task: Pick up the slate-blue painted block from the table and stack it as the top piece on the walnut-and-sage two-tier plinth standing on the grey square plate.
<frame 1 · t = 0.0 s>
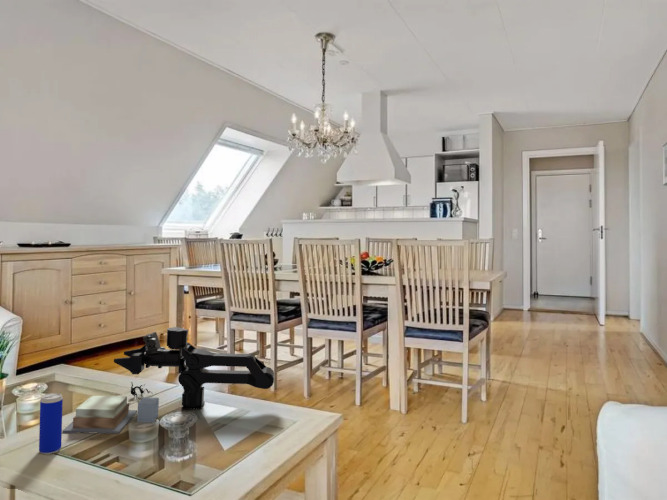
hand: (119, 356, 159), 17 cm above the table, tool horizontal, fingers open, 9 cm apart
grey square plate: (101, 421, 146), on the table
creature: (141, 397, 168), on the table
top block: (147, 418, 150), on the table
beverage can: (50, 451, 127), on the table
plinth: (102, 411, 146), on the grey square plate, point 3 cm above the table
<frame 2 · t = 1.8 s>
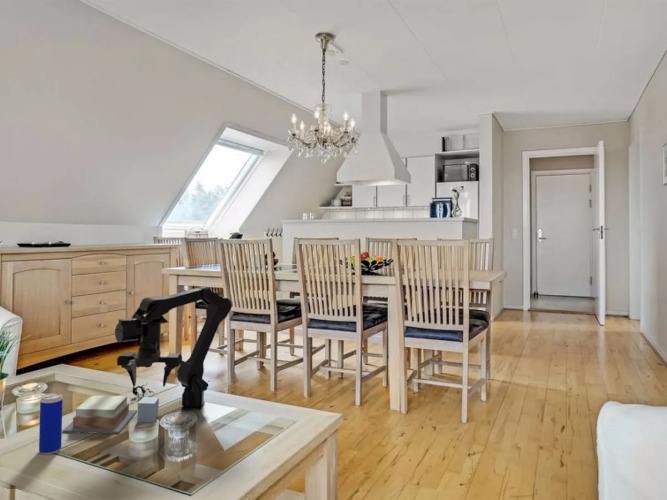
hand: (149, 385, 150), 11 cm above the table, tool pointing down, fingers open, 9 cm apart
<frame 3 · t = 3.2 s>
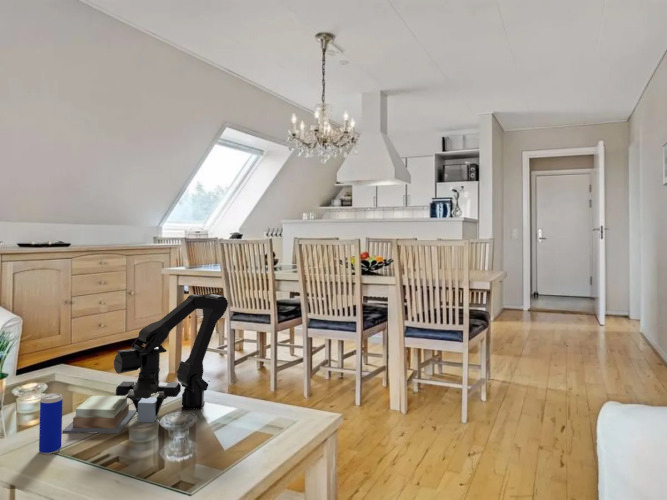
hand: (148, 415, 150), 1 cm above the table, tool pointing down, fingers closed on top block, 5 cm apart
top block: (147, 418, 150), on the table, touching gripper
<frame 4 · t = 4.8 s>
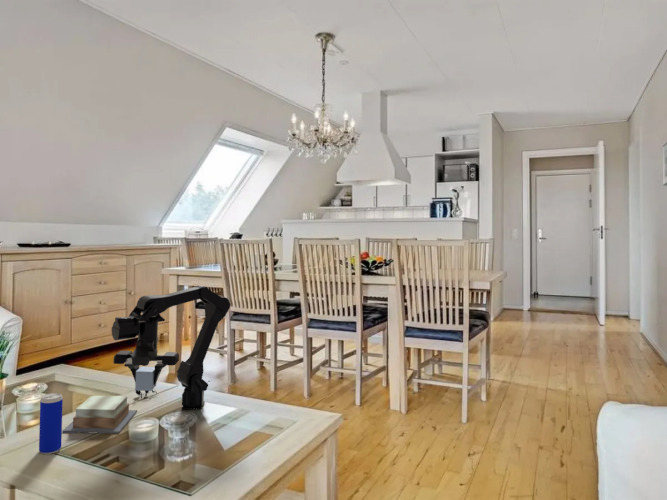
hand: (145, 384, 149), 11 cm above the table, tool pointing down, fingers closed on top block, 5 cm apart
top block: (145, 387, 149), point 10 cm above the table, touching gripper
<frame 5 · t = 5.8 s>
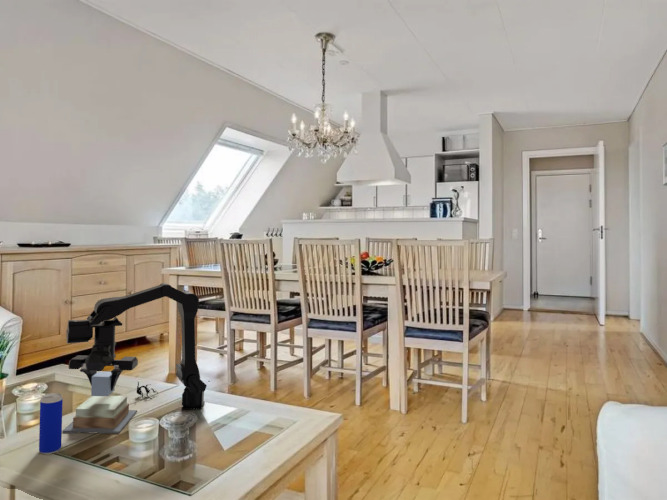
hand: (103, 390, 146), 10 cm above the table, tool pointing down, fingers closed on top block, 5 cm apart
top block: (103, 393, 146), point 9 cm above the table, touching gripper
when the fingers open (9 cm above the table, at t = 6.4 s): top block drops 1 cm, resting on plinth.
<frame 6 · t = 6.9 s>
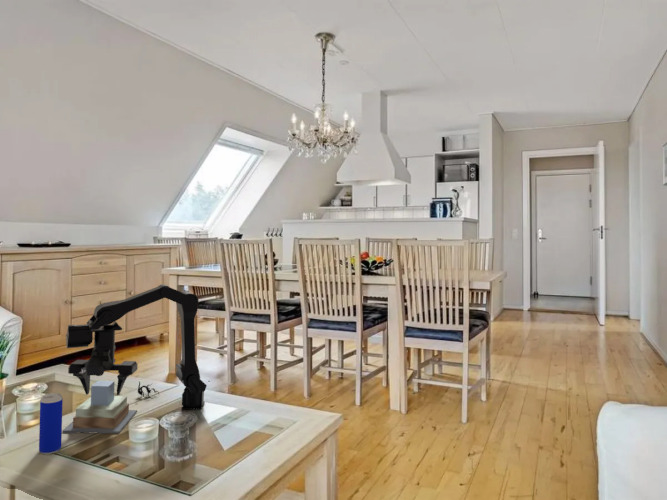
hand: (102, 394, 146), 9 cm above the table, tool pointing down, fingers open, 9 cm apart
top block: (102, 402, 146), point 6 cm above the table, touching plinth
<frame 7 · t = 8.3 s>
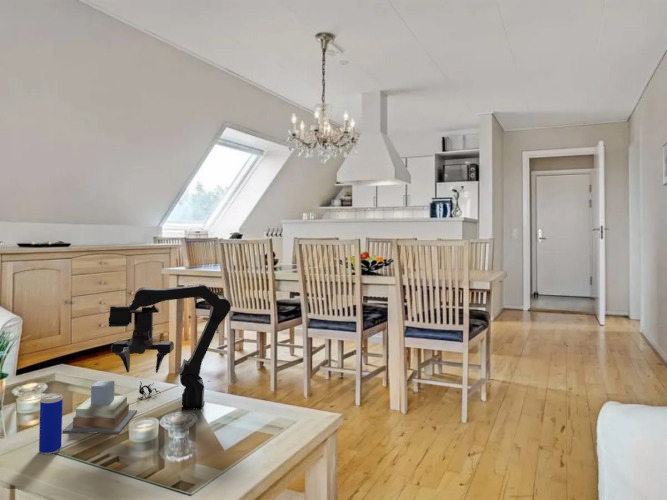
hand: (142, 372, 156), 13 cm above the table, tool pointing down, fingers open, 9 cm apart
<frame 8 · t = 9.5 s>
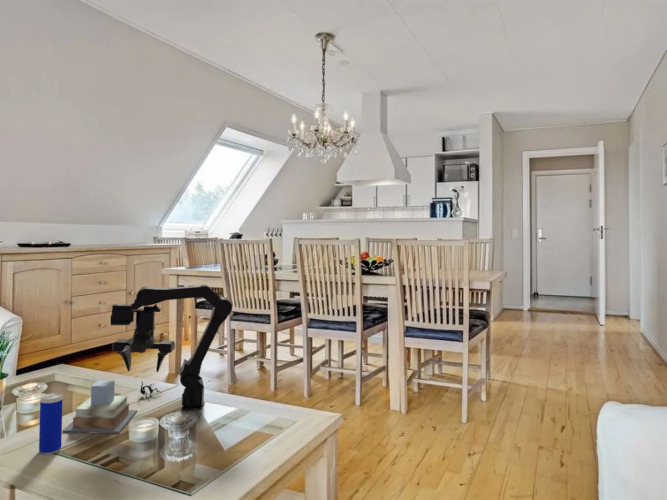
hand: (143, 371, 156), 13 cm above the table, tool pointing down, fingers open, 9 cm apart
at the end: top block inside the target area on the plinth (0.0 cm from its centre), point 6.1 cm above the plinth's base; top block tilted 0°; the gripper is holding nothing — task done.
